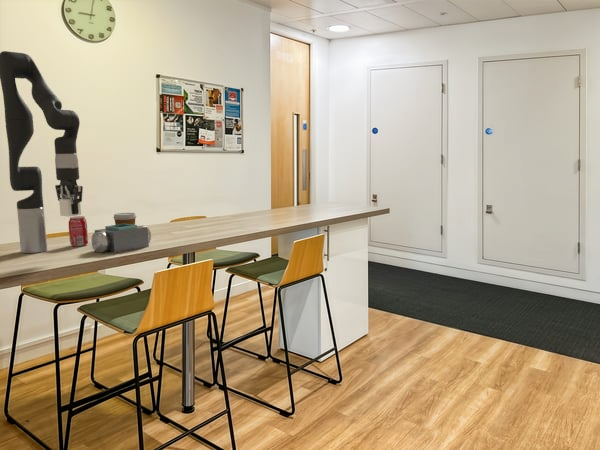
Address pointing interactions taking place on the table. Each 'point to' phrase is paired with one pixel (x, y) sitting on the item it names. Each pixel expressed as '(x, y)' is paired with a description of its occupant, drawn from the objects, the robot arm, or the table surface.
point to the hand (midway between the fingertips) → (70, 213)
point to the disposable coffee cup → (124, 218)
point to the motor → (120, 238)
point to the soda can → (78, 231)
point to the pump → (67, 207)
